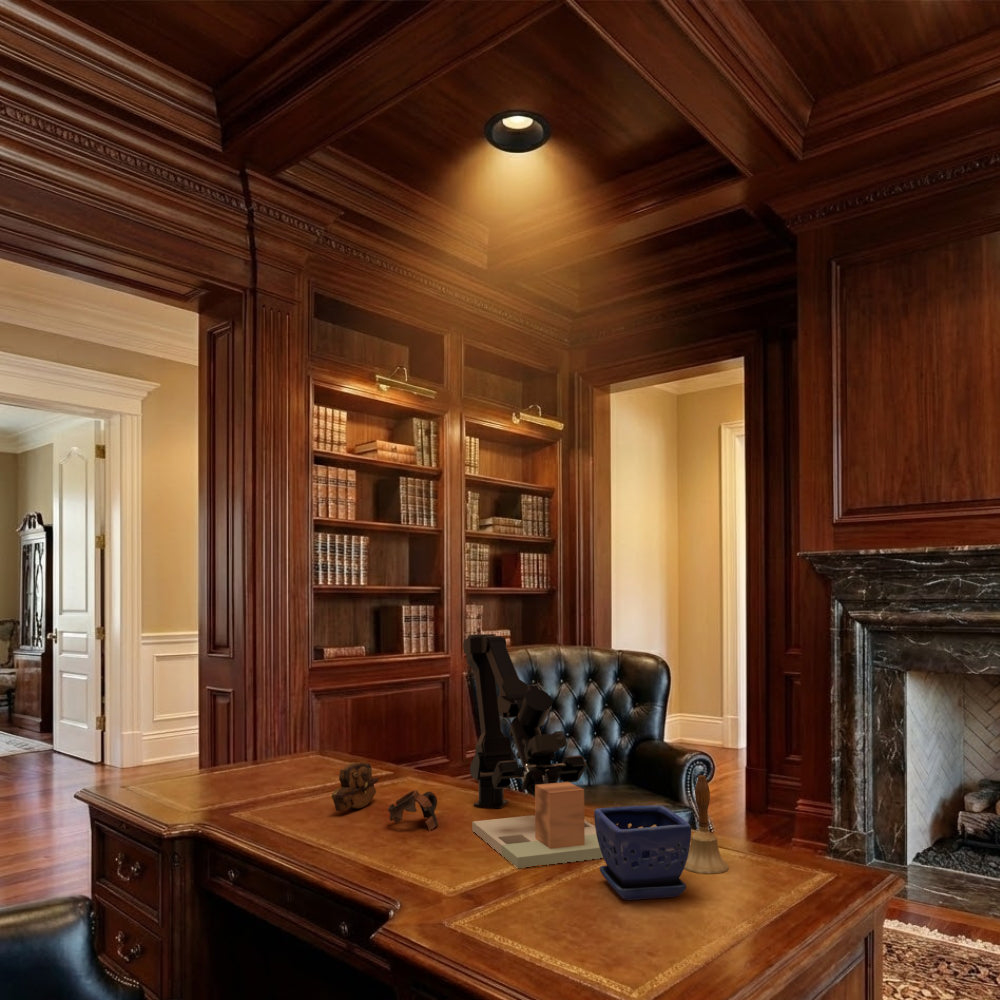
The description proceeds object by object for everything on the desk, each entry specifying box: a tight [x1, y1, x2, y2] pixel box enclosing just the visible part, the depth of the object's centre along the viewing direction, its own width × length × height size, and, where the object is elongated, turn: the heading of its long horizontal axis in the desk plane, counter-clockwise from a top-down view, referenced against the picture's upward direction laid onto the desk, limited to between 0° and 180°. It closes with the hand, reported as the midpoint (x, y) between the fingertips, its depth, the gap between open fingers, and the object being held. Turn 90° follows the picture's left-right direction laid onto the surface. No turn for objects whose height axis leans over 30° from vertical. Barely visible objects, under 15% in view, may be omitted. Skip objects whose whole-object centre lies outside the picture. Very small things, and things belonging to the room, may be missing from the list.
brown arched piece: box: [387, 789, 438, 831], centre depth 182 cm, size 12×10×8 cm
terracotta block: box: [534, 781, 585, 849], centre depth 163 cm, size 7×7×10 cm
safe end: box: [501, 834, 604, 869], centre depth 161 cm, size 8×22×2 cm, turn 111°
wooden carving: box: [331, 761, 379, 812], centre depth 195 cm, size 16×5×10 cm, turn 162°
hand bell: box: [684, 774, 729, 875], centre depth 155 cm, size 8×8×16 cm
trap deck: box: [471, 814, 596, 856], centre depth 172 cm, size 17×22×2 cm
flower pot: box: [593, 804, 692, 901], centre depth 144 cm, size 13×13×12 cm
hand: (551, 809), depth 167 cm, fingers closed
